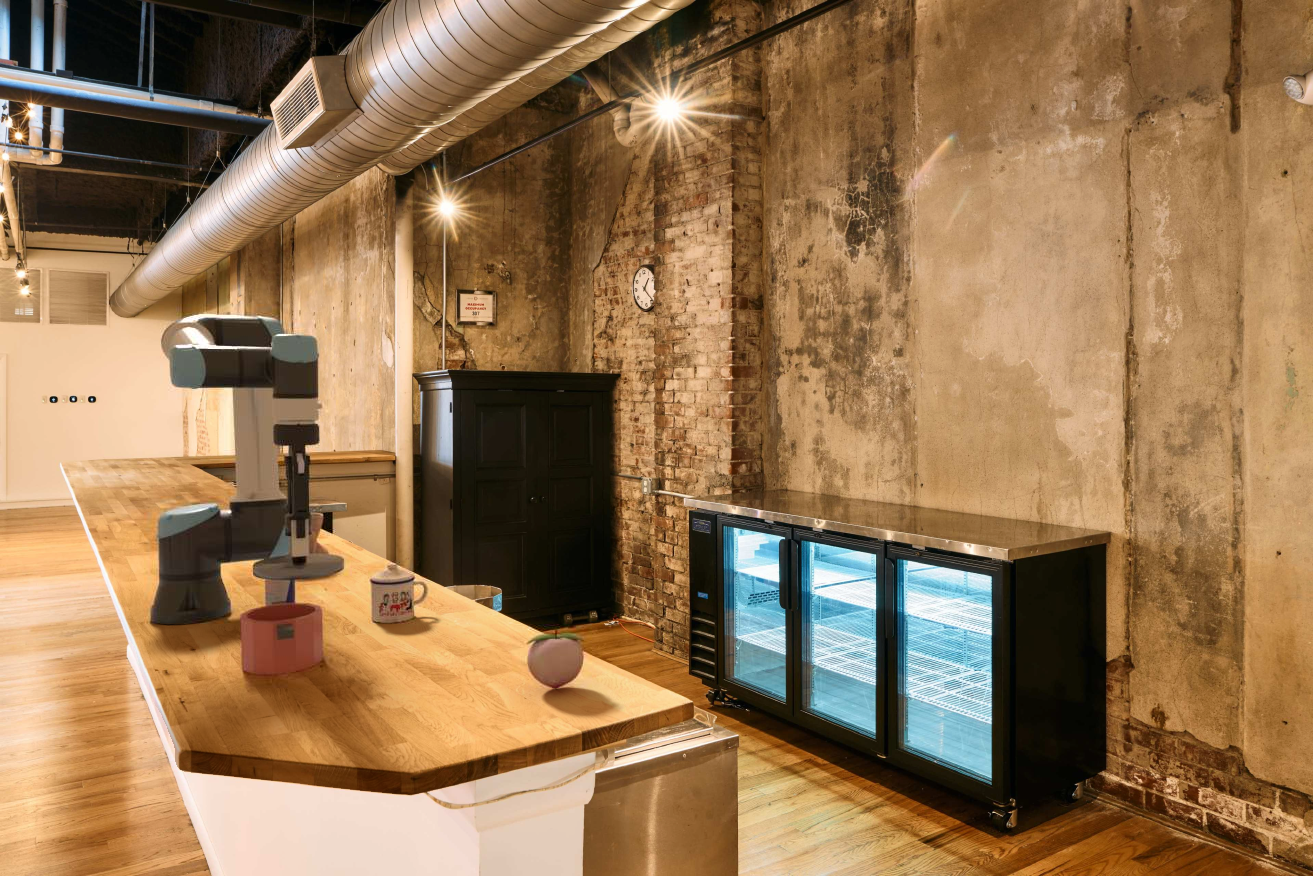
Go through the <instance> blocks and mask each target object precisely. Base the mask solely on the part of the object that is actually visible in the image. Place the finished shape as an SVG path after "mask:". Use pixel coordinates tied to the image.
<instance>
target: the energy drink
mask: <svg viewBox="0 0 1313 876" xmlns="http://www.w3.org/2000/svg"><path fill="white" fill-rule="evenodd" d="M264 591H265V592H264V595H265V596H264V597H265V598H264V599H265V606H267V605H271V602H278V601H286V603H296V580H268V579H264Z"/></svg>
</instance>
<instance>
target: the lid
mask: <svg viewBox="0 0 1313 876" xmlns="http://www.w3.org/2000/svg"><path fill="white" fill-rule="evenodd" d="M288 517H292V514H287V515H285V535H286V536H291V537H292V530H291V520H288ZM308 526H309V535H311V534H312V514H310V516H309V517H308ZM344 569H345V558H344V557H343V556H341V555H336V554H331V553H329V554H309V556H299V557H292V555H284V556H277V557H272V558H267V559H262V560H257V561H256V562H254V563H253V564H252V575H253V576H254V577H255V578H259V579H261V580H266V579H268V580H295V581H299V580H306V579H307V580H308V579H317V578H323V577H327V576H331V575H335V574H337V573H340V572H342V571H343V570H344Z"/></svg>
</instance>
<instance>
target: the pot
mask: <svg viewBox="0 0 1313 876" xmlns="http://www.w3.org/2000/svg"><path fill="white" fill-rule="evenodd" d="M240 638H241V640H240V642H241V643H240V644H241V647H240V648H241V649H240V650H241V668H242V669H241V670H243V672H245V671H246V673H249V674H253V675H265V674H266V675H271V676H272V675H273V676H274V675H281V674H282V673H283V674H288V673H295V672H296V671H297V672H300V671H303V670H306V669H310V668H312V666H313V667H315V666H317V665H318V664H319V663H321V662H322V661H324V647H323V646H324V640H323V639H324V638H323V610H322V607H321V605H318V604H313V603H308V602H295V603H286V601H278V602H271V605H267V606H266V605H264V606H258V607H254V608H251V609H248V610H247V611H245V612H242V613H240ZM320 661H321V662H320ZM317 663H318V664H317ZM309 667H310V668H309ZM305 668H306V669H305ZM302 669H303V670H302ZM299 670H300V671H299ZM297 672H296V673H297Z"/></svg>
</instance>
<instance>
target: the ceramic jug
mask: <svg viewBox="0 0 1313 876" xmlns="http://www.w3.org/2000/svg"><path fill="white" fill-rule="evenodd" d="M310 514H312V534H311V535H309V554H330V553H329V550H328V549H327V548H326V547H325V546H324V545H322V544H320V543H319V542H318V541H317V539H318V537H319V535H320V533H321V530H322V525H323V522H324V514H323V513H321V512H320V513H319V512H310ZM287 555H292V552H289V553H288V554H287Z"/></svg>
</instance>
